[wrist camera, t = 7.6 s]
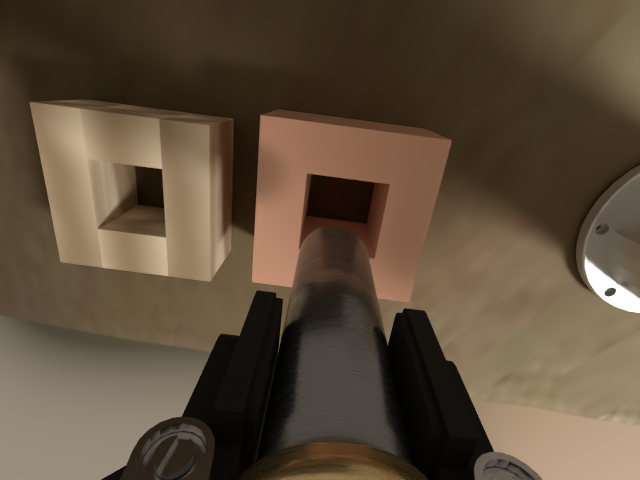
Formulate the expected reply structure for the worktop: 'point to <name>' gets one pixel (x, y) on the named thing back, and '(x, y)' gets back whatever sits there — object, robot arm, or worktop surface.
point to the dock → (350, 163)
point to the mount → (121, 189)
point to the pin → (333, 375)
